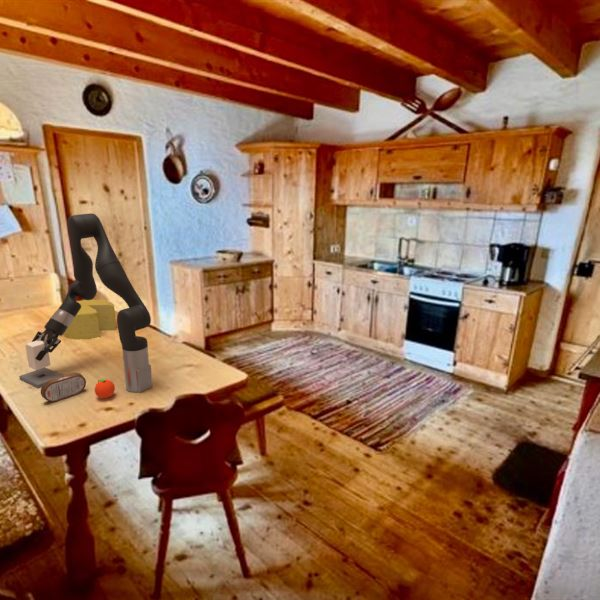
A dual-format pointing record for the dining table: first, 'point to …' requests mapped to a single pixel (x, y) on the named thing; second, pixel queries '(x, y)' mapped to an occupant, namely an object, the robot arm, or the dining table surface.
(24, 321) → the dining table surface
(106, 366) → the dining table surface
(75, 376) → the tin
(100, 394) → the clementine
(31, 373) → the slate board
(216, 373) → the dining table surface
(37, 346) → the block
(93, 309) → the cheese
